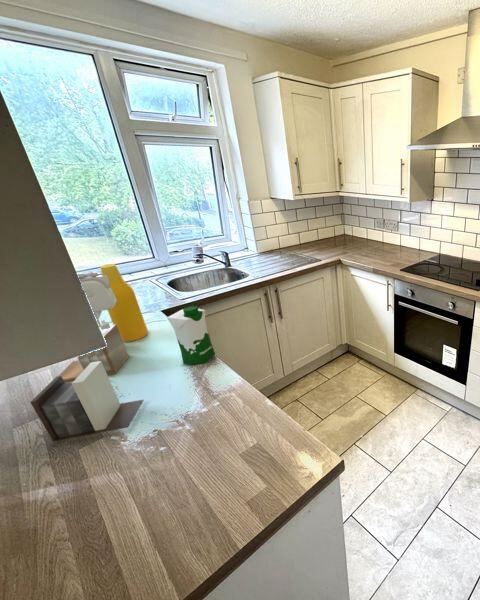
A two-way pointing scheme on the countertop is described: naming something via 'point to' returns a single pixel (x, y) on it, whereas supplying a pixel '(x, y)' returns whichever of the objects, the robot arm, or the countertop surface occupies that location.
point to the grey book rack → (74, 412)
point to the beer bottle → (124, 306)
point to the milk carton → (192, 335)
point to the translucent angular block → (101, 356)
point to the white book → (96, 395)
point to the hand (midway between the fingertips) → (71, 331)
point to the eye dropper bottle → (104, 325)
